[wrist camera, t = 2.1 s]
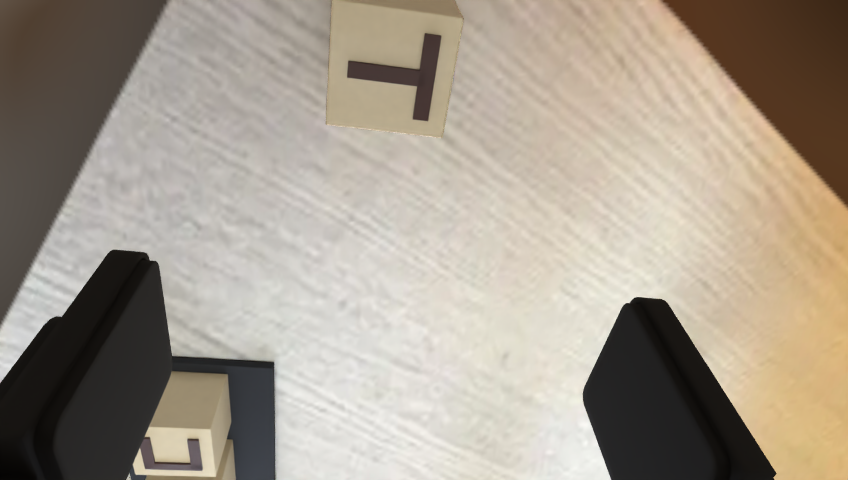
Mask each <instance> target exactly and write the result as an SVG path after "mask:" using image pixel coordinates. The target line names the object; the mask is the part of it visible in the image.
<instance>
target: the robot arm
mask: <svg viewBox="0 0 848 480" xmlns="http://www.w3.org/2000/svg"><path fill="white" fill-rule="evenodd" d="M172 363H173V362H172V353H171V346H170V339H169V332H168V325H167V318H166V311H165V304H164V297H163V290H162V283H161V276H160V269H159V265H158V263H157V262H156V261H150V260H149V256H148V255H147V253H145V252H135V251H124V250H112V251H110V252H109V253H108V254H107V256H106V257H105V258H104V260H103V261H102V262H101V264H100V265H99V267H98V268H97V269H96V271H95V272H94V273H93V275H92V276H91V278H90V279H89V280H88V282H87V283H86V284H85V286H84V287H83V289H82V290H81V291H80V293H79V294H78V295H77V297H76V298H75V300H74V301H73V302H72V304H71V305H70V306H69V308H68V309H67V311H66V312H65V313H64V315H63V316H62V317H57V316H56V317H54V318H52V319H50V320H49V321H48V322H47V323H46V324H45V325H44V326H43V327H42V329H41V330H40V331H39V333H38V334H37V335H36V337H35V338H34V339H33V341H32V342H31V343H30V345H29V346H28V347H27V348H26V350H25V351H24V352H23V354H22V355H21V356H20V358H19V359H18V360H17V362H16V363H15V364H14V366H13V367H12V368H11V370H10V371H9V372H8V374H7V375H6V376H5V378H4V379H3V380H2V382H1V383H0V480H126V479H127V477H128V474H129V472H130V470H131V467H132V465H133V463H134V460H135V458H136V456H137V453H138V451H139V449H140V446H141V444H142V442H143V439H144V437H145V435H146V432H147V430H148V428H149V425H150V423H151V421H152V418H153V416H154V414H155V411H156V409H157V407H158V404H159V402H160V400H161V397H162V395H163V393H164V390H165V388H166V386H167V383H168V381H169V379H170V376H171V372H172ZM583 402H584V406H585V409H586V411H587V414H588V417H589V420H590V422H591V425H592V428H593V431H594V433H595V436H596V439H597V442H598V444H599V447H600V450H601V453H602V455H603V458H604V461H605V464H606V466H607V469H608V472H609V475H610V477H611V480H774V478H773V477H774V476H775V475H776V472H775V470H774V469H773V467H772V466H771V464H770V463H769V461H768V459H767V458H766V456H765V455H764V453H763V452H762V450H761V449H760V447H759V445H758V444H757V442H756V441H755V439H754V438H753V436H752V434H751V433H750V431H749V430H748V428H747V427H746V425H745V424H744V422H743V420H742V419H741V417H740V416H739V414H738V413H737V411H736V409H735V408H734V406H733V405H732V403H731V402H730V400H729V398H728V397H727V395H726V394H725V392H724V391H723V389H722V388H721V386H720V384H719V383H718V381H717V380H716V378H715V377H714V375H713V373H712V372H711V370H710V369H709V367H708V366H707V364H706V362H705V361H704V359H703V358H702V356H701V355H700V353H699V352H698V350H697V348H696V347H695V345H694V344H693V342H692V341H691V339H690V337H689V336H688V334H687V333H686V331H685V330H684V328H683V327H682V325H681V323H680V322H679V320H678V319H677V317H676V316H675V314H674V312H673V311H672V309H671V308H670V306H669V305H668V303H667V302H666V301H664V300H662V299H653V298H642V297H636V298H634V299H633V300H632V301H631V302H630V303H626V304H625V305H624V306H623V307H622V309H621V311H620V313H619V315H618V317H617V319H616V322H615V324H614V326H613V328H612V330H611V332H610V334H609V336H608V338H607V341H606V343H605V345H604V347H603V349H602V351H601V353H600V355H599V357H598V359H597V362H596V364H595V366H594V368H593V370H592V372H591V374H590V376H589V378H588V381H587V383H586V385H585V387H584V391H583Z"/></svg>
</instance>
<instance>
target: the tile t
mask: <svg viewBox="0 0 848 480" xmlns="http://www.w3.org/2000/svg"><path fill="white" fill-rule="evenodd" d="M463 20H464V18H463V16H462V14H461V12H460V10H459V8H458V6H457V4H456V2H455V0H332V3H331V24H330V44H329V65H328V85H327V106H326V125H331V126H340V127H349V128H357V129H366V130H375V131H384V132H392V133H401V134H410V135H419V136H428V137H436V138H442V137H443V132H444V127H445V121H446V116H447V110H448V104H449V99H450V93H451V88H452V82H453V76H454V71H455V65H456V60H457V54H458V48H459V43H460V37H461V32H462V26H463Z"/></svg>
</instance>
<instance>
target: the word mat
mask: <svg viewBox="0 0 848 480" xmlns="http://www.w3.org/2000/svg"><path fill="white" fill-rule="evenodd" d="M172 362H173V363H172V371H179V372H198V373H217V374H228V385H229V398H230V410H231V425H230V428H229V432H228V436H227V439H232V440H233V449H234V462H235V475H236V480H275V410H274V363H271V362H254V361H236V360H219V359H201V358H183V357H172ZM129 473H130V476H131V480H145V479H146V477H147V475H136V474H135V471H134V467H133V465H132V467H131V470H130V472H129Z"/></svg>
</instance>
